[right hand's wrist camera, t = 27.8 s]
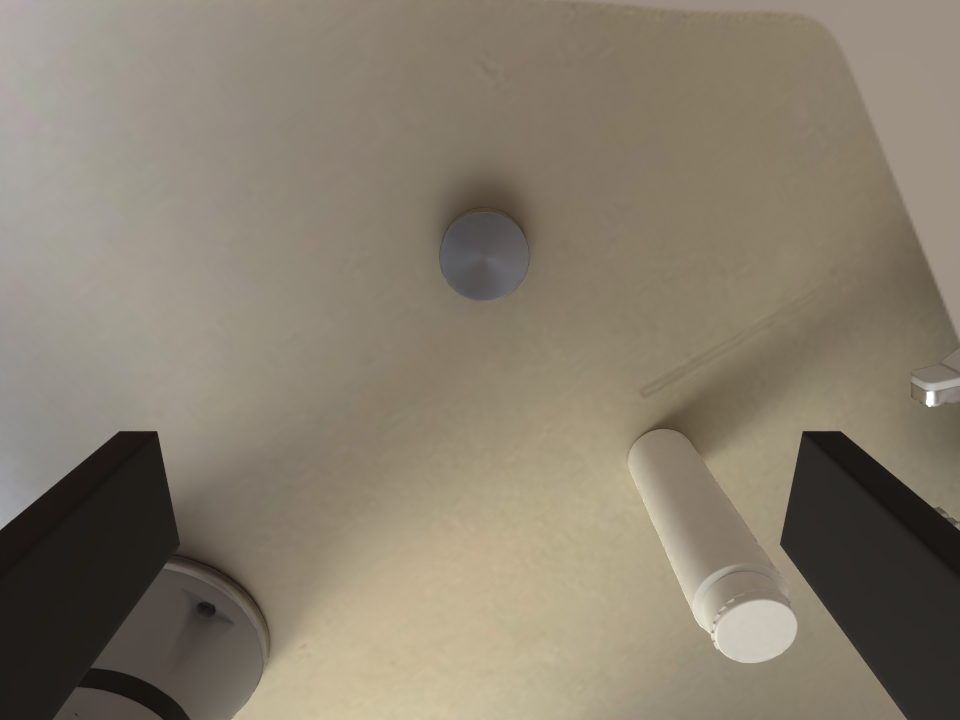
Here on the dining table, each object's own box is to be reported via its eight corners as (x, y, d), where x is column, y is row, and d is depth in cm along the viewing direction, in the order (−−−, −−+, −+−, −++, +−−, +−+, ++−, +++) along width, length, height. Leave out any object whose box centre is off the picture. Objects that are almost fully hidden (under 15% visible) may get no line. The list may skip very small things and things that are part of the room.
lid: (432, 279, 38) (429, 288, 36) (454, 196, 36) (452, 200, 34) (512, 302, 38) (514, 311, 36) (537, 221, 37) (541, 226, 35)
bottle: (678, 417, 41) (789, 576, 26) (703, 469, 43) (821, 648, 28) (617, 446, 42) (691, 615, 27) (643, 496, 43) (726, 684, 29)
